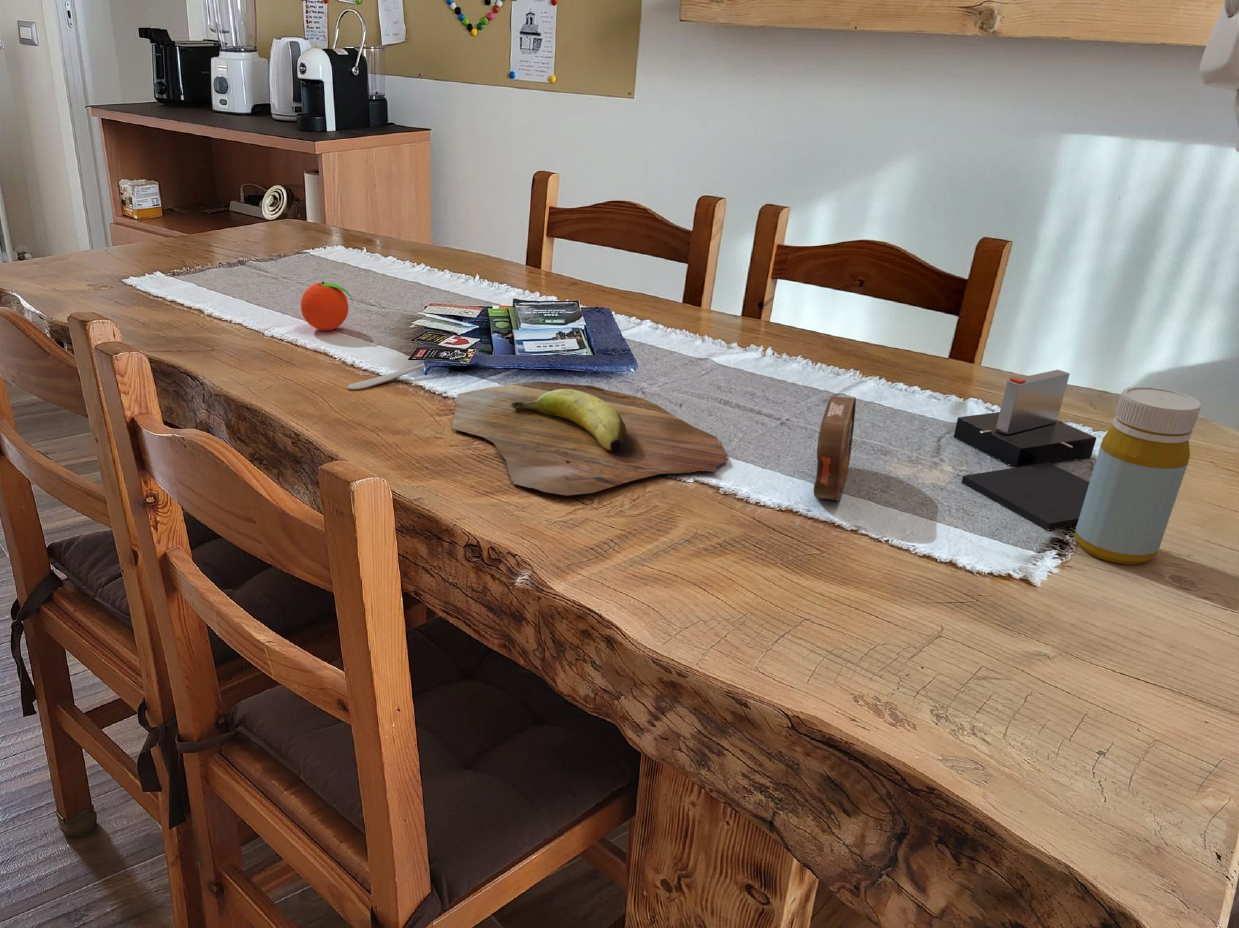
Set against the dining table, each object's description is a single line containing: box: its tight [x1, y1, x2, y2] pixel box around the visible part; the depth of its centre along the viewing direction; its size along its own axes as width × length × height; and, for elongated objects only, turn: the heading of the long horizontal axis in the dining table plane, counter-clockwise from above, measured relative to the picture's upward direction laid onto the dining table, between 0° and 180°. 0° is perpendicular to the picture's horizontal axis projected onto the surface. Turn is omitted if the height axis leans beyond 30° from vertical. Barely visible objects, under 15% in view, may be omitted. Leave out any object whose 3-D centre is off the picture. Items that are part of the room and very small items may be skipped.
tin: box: [813, 396, 857, 502], centre depth 107 cm, size 15×3×8 cm, turn 160°
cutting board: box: [452, 381, 729, 496], centre depth 119 cm, size 35×27×4 cm
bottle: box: [1074, 386, 1202, 566], centre depth 94 cm, size 7×7×15 cm
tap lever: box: [995, 369, 1071, 435], centre depth 117 cm, size 9×2×6 cm, turn 121°
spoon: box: [346, 363, 426, 391], centre depth 136 cm, size 4×21×2 cm, turn 128°
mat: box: [961, 463, 1090, 531], centre depth 107 cm, size 12×12×1 cm
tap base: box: [953, 406, 1097, 468], centre depth 119 cm, size 13×13×3 cm
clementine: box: [300, 281, 354, 332], centre depth 152 cm, size 8×7×7 cm
